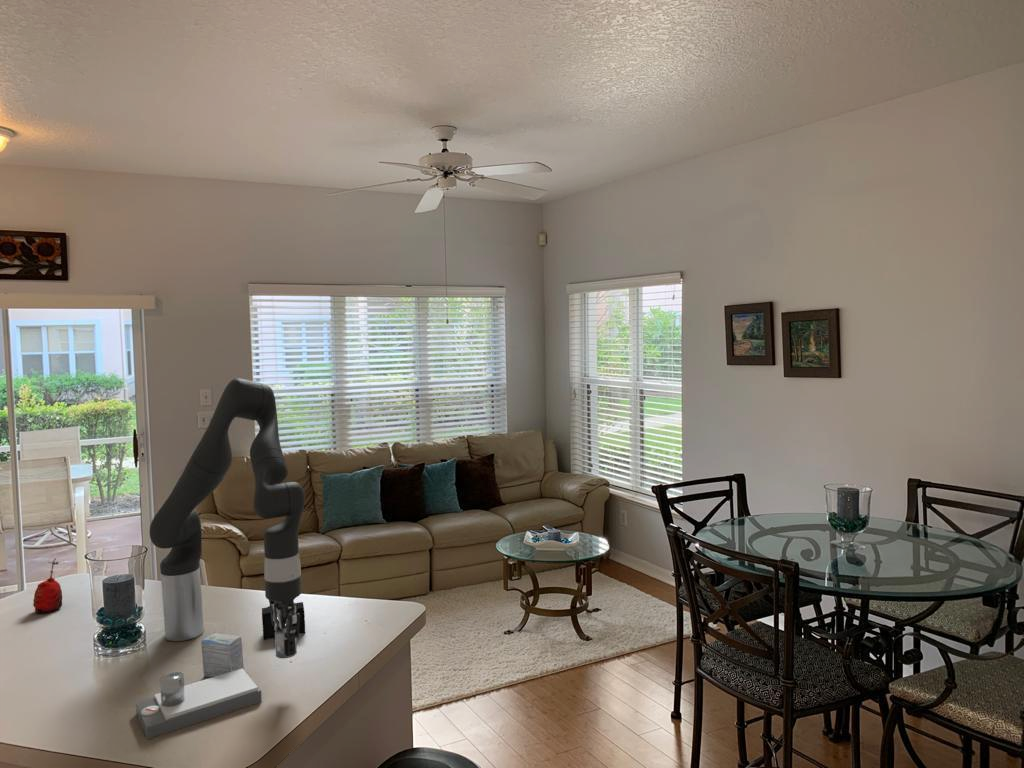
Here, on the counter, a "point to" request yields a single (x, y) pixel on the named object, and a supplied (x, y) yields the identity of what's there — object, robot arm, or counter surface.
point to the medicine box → (221, 654)
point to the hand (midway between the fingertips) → (286, 650)
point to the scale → (199, 703)
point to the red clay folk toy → (48, 595)
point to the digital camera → (269, 628)
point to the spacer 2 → (281, 645)
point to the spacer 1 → (172, 689)
